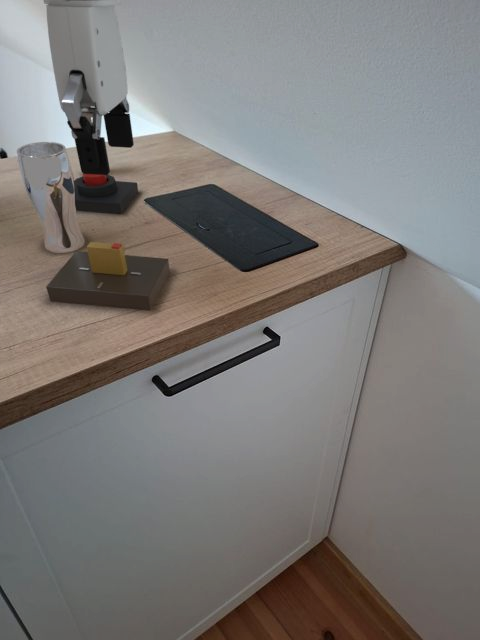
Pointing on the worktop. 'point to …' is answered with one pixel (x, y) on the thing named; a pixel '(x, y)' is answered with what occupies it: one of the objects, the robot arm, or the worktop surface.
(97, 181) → the button
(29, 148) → the beer glass
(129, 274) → the plate
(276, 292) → the worktop surface
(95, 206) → the alarm box
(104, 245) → the thumb turn
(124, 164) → the worktop surface
